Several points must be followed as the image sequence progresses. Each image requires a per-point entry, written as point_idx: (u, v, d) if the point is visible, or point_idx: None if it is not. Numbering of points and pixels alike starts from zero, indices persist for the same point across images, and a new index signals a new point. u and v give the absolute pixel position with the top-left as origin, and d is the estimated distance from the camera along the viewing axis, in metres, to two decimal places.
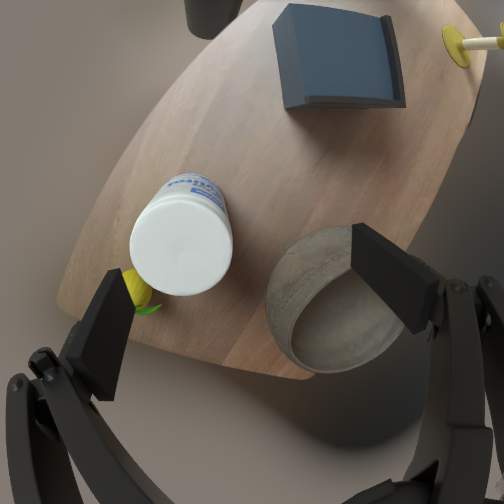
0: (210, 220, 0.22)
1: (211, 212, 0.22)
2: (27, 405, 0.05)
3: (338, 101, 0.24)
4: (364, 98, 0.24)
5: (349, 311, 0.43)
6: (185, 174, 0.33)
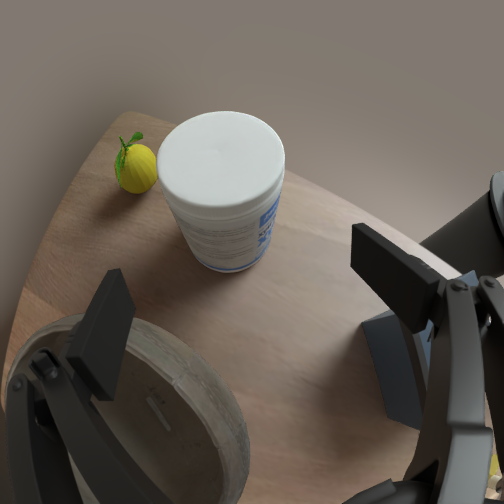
0: (265, 177, 0.17)
1: (275, 178, 0.17)
2: (27, 405, 0.05)
3: (416, 345, 0.19)
4: None
5: None
6: None
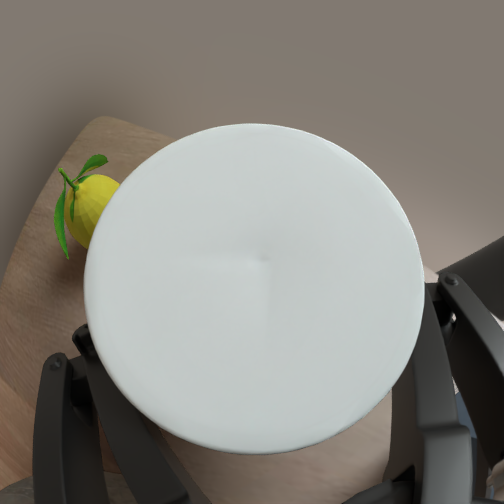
0: (391, 352, 0.06)
1: (412, 348, 0.06)
2: (64, 387, 0.06)
3: (489, 470, 0.07)
4: (490, 492, 0.06)
5: None
6: None
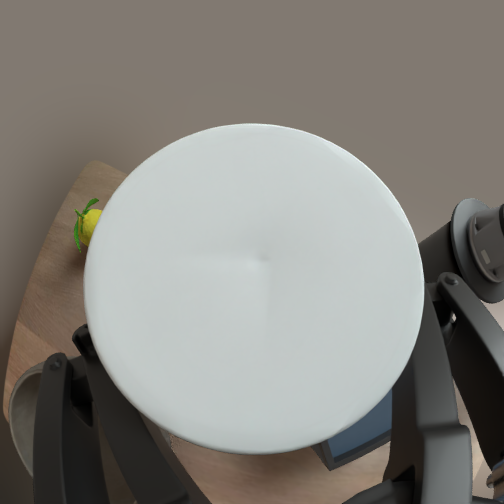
0: (390, 353, 0.06)
1: (412, 348, 0.06)
2: (63, 387, 0.06)
3: None
4: None
5: None
6: None
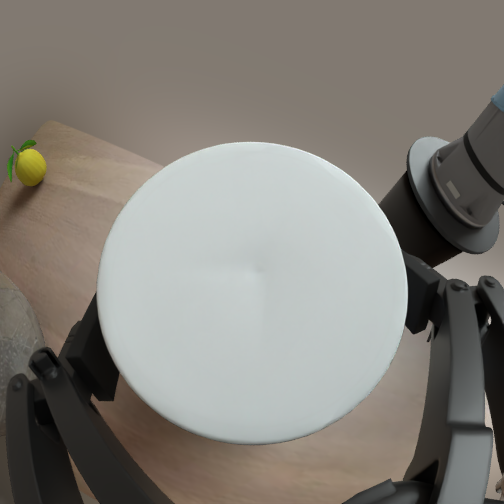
0: (374, 355, 0.06)
1: (394, 351, 0.06)
2: (27, 405, 0.05)
3: None
4: None
5: None
6: None
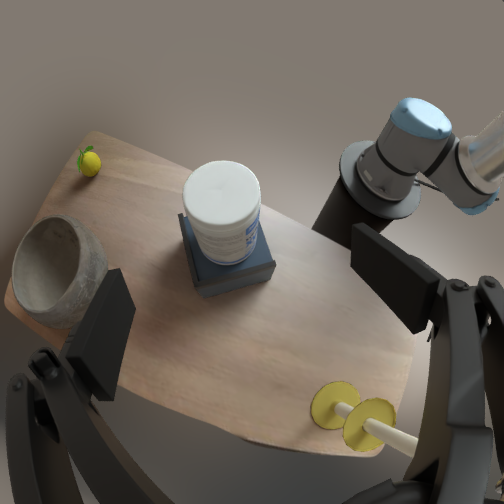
0: (247, 207, 0.30)
1: (253, 207, 0.30)
2: (27, 405, 0.05)
3: (182, 230, 0.43)
4: (189, 248, 0.42)
5: (49, 303, 0.42)
6: None
